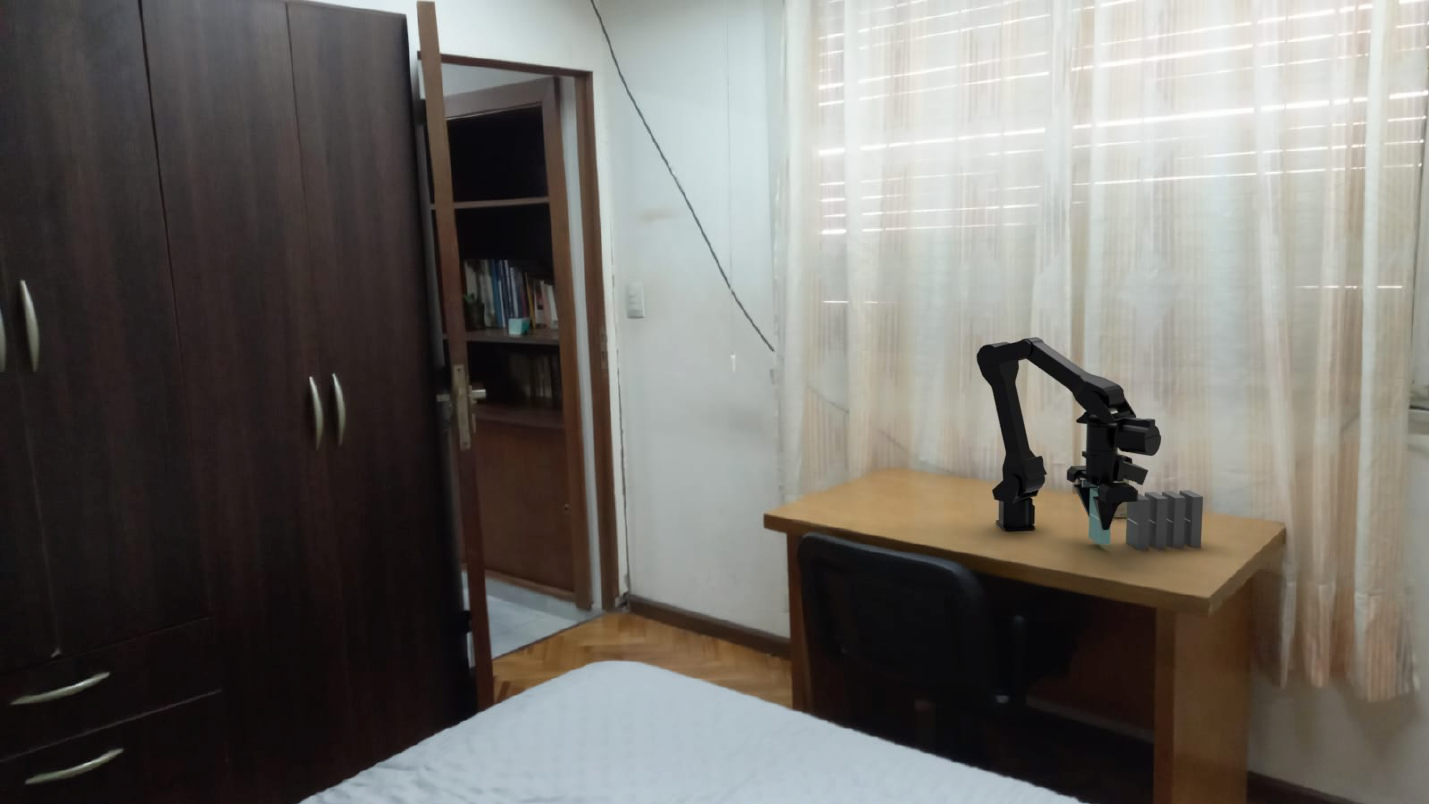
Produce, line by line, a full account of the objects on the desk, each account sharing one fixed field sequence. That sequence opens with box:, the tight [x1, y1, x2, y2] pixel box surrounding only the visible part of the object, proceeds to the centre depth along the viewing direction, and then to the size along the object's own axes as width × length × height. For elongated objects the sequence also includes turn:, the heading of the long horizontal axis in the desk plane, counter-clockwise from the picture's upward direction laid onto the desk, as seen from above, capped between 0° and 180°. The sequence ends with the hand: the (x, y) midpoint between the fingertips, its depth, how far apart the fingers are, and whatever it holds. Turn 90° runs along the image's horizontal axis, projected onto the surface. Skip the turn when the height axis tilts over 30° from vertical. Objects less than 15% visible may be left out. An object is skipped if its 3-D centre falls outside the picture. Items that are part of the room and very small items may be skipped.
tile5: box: [1178, 489, 1204, 548], centre depth 187 cm, size 2×5×10 cm, turn 2°
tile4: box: [1161, 490, 1185, 549], centre depth 187 cm, size 2×5×10 cm, turn 3°
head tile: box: [1088, 488, 1111, 546], centre depth 187 cm, size 2×5×10 cm, turn 3°
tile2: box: [1125, 492, 1150, 551], centre depth 187 cm, size 2×5×10 cm, turn 3°
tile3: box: [1144, 491, 1168, 550], centre depth 187 cm, size 2×5×10 cm, turn 2°
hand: (1099, 525), depth 187 cm, fingers closed on head tile, 5 cm apart
